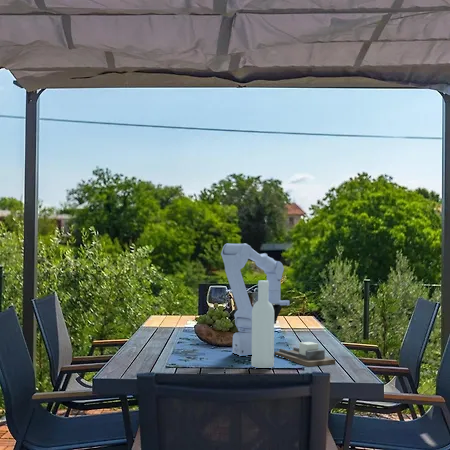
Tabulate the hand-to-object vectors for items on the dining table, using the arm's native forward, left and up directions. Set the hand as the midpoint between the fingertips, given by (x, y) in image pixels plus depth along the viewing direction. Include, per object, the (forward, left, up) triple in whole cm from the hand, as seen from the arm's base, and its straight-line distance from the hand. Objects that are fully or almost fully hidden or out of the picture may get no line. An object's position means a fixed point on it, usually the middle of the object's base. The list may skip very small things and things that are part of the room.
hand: (273, 323), depth 241 cm
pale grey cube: (-1, -26, -9) cm, 28 cm away
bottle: (-22, -28, -11) cm, 37 cm away
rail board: (-1, -23, -10) cm, 25 cm away
